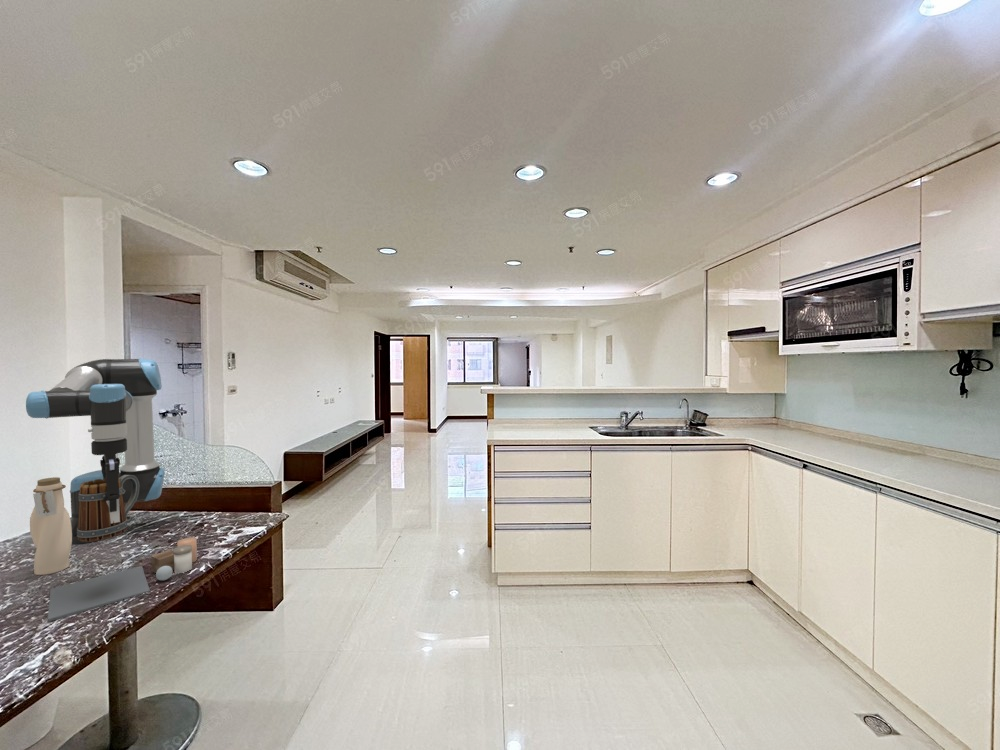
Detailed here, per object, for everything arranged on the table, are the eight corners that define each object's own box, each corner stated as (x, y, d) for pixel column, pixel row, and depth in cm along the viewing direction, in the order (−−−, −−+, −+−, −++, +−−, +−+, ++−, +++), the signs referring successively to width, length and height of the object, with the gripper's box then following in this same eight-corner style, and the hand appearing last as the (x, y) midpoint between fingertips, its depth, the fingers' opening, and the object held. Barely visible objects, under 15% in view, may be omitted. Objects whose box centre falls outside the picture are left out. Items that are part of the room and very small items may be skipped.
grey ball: (155, 579, 131) (154, 566, 131) (171, 574, 134) (171, 561, 134) (156, 584, 128) (156, 571, 128) (173, 579, 131) (173, 566, 131)
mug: (98, 543, 118) (95, 487, 117) (66, 541, 119) (63, 486, 119) (154, 522, 133) (151, 472, 132) (124, 520, 135) (121, 471, 134)
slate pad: (50, 590, 125) (50, 588, 125) (141, 567, 139) (141, 565, 138) (47, 621, 110) (47, 619, 110) (149, 592, 124) (149, 590, 124)
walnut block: (151, 572, 136) (151, 555, 136) (170, 565, 140) (170, 549, 140) (159, 576, 133) (159, 559, 133) (178, 569, 138) (177, 553, 138)
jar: (172, 570, 137) (171, 548, 137) (191, 565, 140) (190, 543, 140) (174, 576, 133) (174, 553, 133) (194, 570, 137) (193, 548, 136)
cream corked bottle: (74, 570, 137) (71, 480, 136) (32, 580, 130) (28, 486, 129) (71, 559, 144) (68, 473, 143) (31, 569, 137) (27, 479, 136)
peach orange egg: (176, 561, 143) (176, 540, 142) (195, 557, 146) (194, 536, 146) (179, 567, 139) (178, 545, 139) (198, 562, 142) (197, 540, 142)
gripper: (89, 435, 130) (91, 512, 131) (93, 446, 114) (95, 532, 115) (123, 433, 135) (125, 506, 136) (130, 442, 120) (133, 524, 120)
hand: (111, 518), depth 125 cm, fingers closed on mug, 9 cm apart
